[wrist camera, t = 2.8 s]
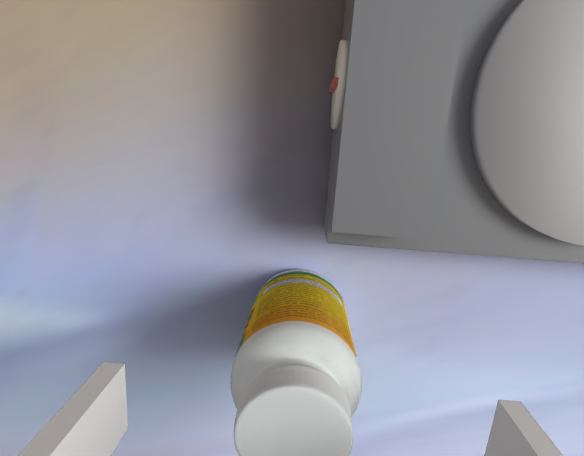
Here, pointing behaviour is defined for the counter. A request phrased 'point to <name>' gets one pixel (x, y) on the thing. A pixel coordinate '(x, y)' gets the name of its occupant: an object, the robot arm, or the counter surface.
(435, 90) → the scale
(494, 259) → the counter surface
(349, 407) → the supplement bottle
